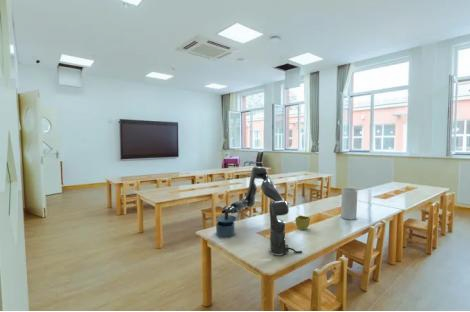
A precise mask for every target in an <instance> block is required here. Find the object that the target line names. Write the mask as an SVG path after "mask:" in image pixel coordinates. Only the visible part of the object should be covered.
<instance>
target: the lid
mask: <svg viewBox="0 0 470 312" xmlns="http://www.w3.org/2000/svg"><path fill="white" fill-rule="evenodd" d="M227 210H228V209H225V211H227ZM216 221H217V222H223V223H229V222H235V221H237V217H236V216H235V215H231V214H229V213H228V214H225V213H224V215H220V216H217V217H216Z"/></svg>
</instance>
